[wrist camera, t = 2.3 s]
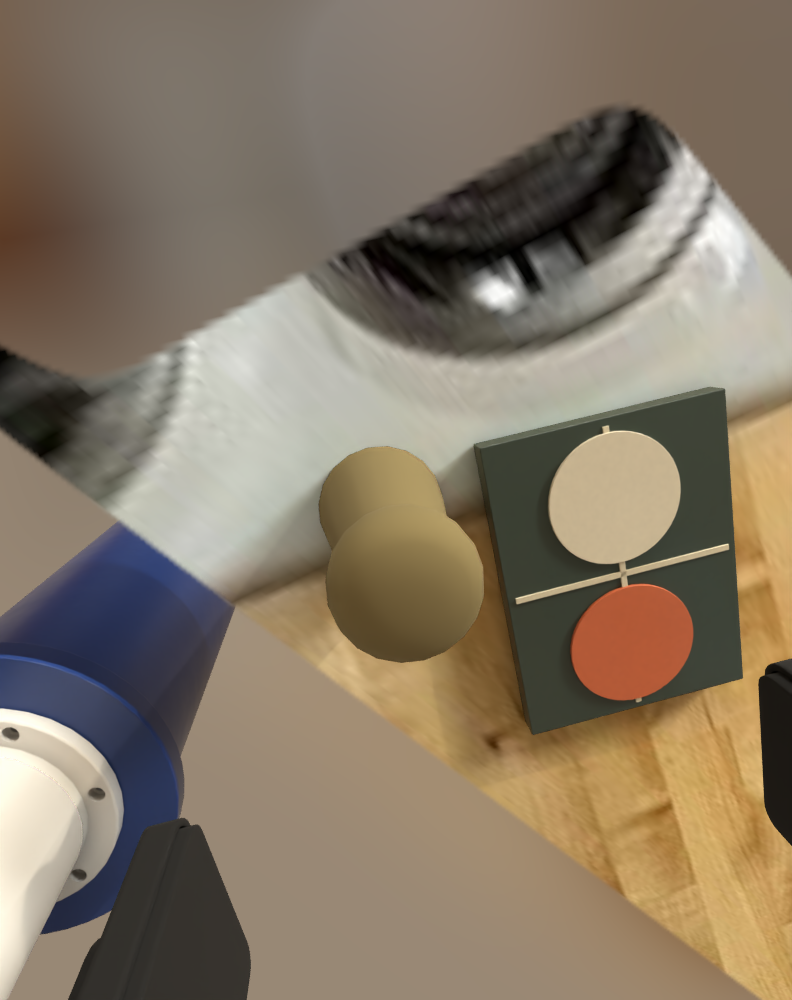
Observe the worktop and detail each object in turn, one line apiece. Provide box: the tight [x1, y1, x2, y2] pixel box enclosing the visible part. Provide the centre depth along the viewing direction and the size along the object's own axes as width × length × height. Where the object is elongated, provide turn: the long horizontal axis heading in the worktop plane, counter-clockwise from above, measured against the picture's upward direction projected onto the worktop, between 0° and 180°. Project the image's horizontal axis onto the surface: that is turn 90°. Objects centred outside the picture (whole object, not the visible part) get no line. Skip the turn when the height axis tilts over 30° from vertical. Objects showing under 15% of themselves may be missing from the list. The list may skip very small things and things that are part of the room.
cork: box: [319, 446, 484, 663], centre depth 23 cm, size 6×6×11 cm
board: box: [474, 387, 743, 735], centre depth 29 cm, size 12×16×1 cm
